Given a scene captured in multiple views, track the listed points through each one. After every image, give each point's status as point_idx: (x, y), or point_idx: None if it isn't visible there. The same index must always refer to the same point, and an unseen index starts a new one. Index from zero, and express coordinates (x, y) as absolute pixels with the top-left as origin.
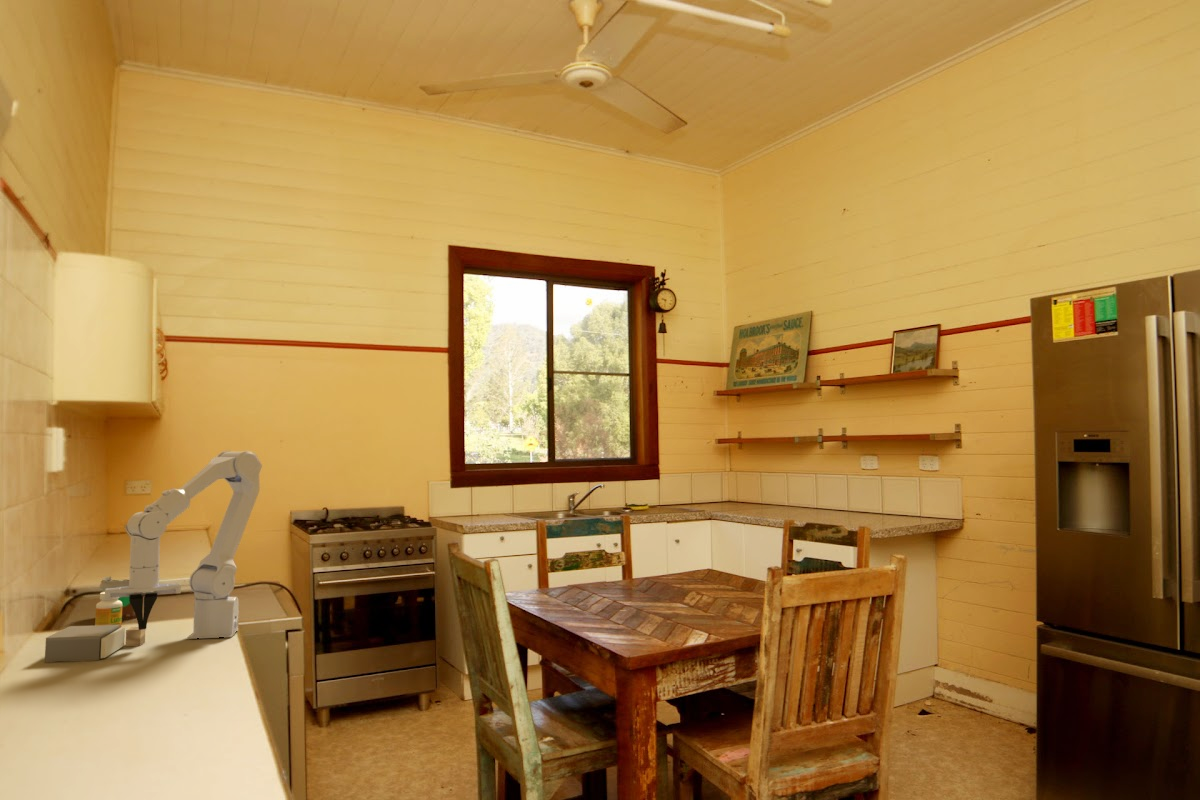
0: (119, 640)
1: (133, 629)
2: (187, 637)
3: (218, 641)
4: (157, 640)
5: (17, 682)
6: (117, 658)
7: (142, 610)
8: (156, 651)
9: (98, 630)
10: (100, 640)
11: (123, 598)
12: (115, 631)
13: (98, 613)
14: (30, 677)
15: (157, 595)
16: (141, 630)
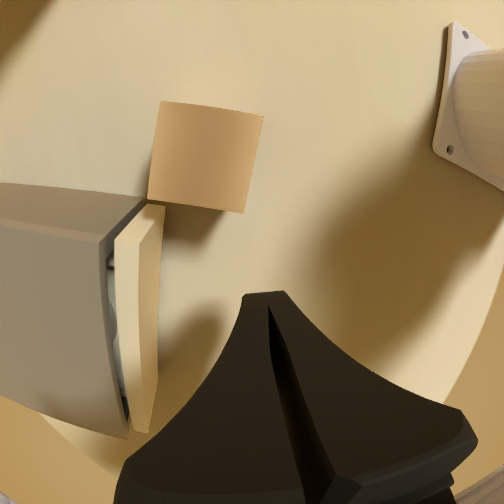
0: (151, 289)
1: (190, 188)
2: (435, 148)
3: (490, 230)
4: (311, 90)
5: (75, 441)
6: (193, 370)
7: (272, 371)
8: (314, 318)
9: (61, 361)
10: (128, 419)
11: None
12: (127, 344)
13: None
14: (74, 428)
15: (447, 475)
16: (245, 199)
